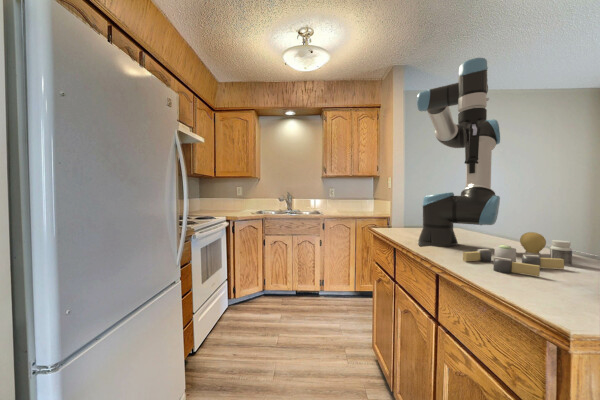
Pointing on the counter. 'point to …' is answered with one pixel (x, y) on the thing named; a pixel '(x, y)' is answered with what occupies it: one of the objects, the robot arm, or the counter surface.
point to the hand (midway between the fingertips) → (471, 183)
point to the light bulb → (532, 243)
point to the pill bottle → (561, 251)
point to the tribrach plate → (505, 252)
